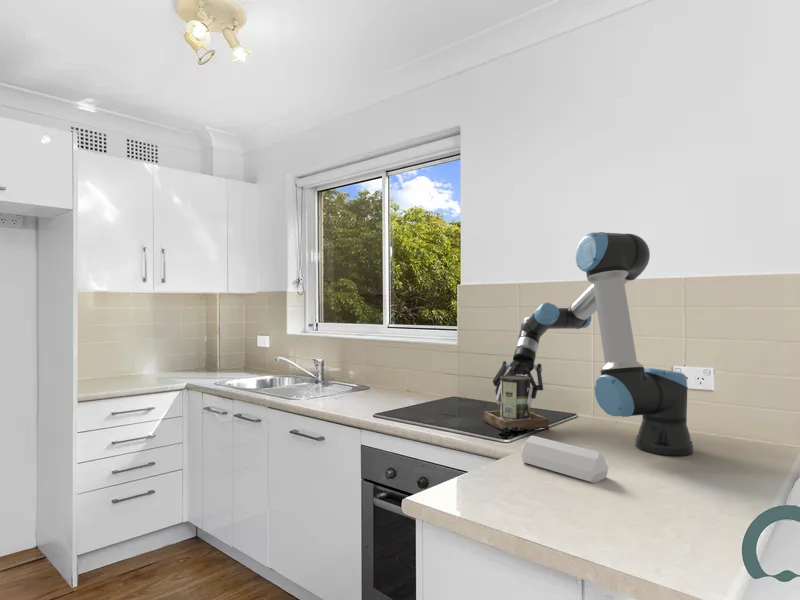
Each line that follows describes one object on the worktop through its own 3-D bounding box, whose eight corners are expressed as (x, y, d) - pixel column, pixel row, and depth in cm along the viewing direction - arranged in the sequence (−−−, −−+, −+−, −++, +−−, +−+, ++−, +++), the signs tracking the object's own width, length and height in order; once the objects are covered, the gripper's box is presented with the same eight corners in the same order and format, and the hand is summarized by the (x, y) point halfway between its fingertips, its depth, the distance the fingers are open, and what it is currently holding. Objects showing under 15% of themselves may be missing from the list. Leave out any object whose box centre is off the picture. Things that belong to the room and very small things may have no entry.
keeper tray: (548, 429, 180) (548, 418, 180) (505, 432, 176) (505, 421, 176) (523, 418, 196) (523, 409, 196) (483, 421, 191) (483, 411, 191)
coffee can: (530, 415, 190) (530, 375, 189) (531, 422, 180) (531, 379, 179) (500, 414, 192) (500, 374, 192) (499, 420, 182) (499, 378, 181)
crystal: (619, 462, 133) (536, 442, 151) (606, 452, 129) (523, 432, 147) (611, 492, 131) (528, 467, 149) (597, 483, 126) (514, 459, 145)
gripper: (558, 361, 194) (548, 413, 180) (497, 357, 204) (483, 406, 190) (555, 347, 189) (544, 400, 175) (493, 344, 199) (478, 394, 186)
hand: (512, 403), depth 183 cm, fingers closed on coffee can, 10 cm apart
